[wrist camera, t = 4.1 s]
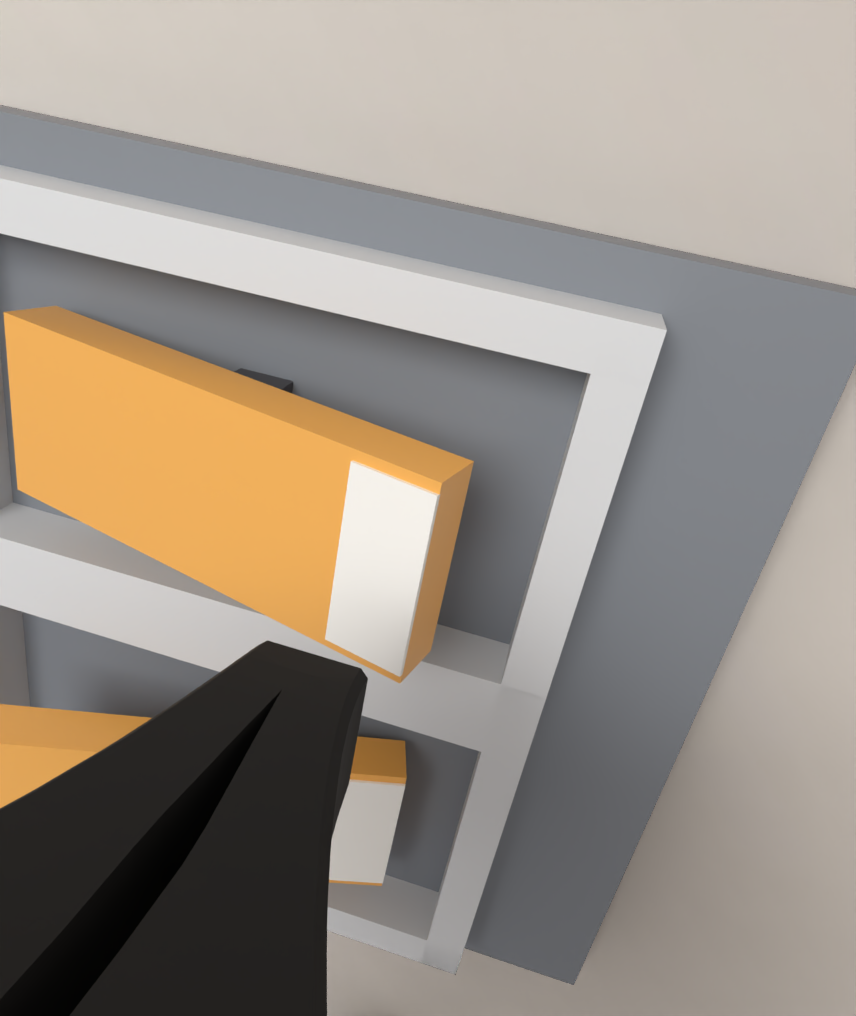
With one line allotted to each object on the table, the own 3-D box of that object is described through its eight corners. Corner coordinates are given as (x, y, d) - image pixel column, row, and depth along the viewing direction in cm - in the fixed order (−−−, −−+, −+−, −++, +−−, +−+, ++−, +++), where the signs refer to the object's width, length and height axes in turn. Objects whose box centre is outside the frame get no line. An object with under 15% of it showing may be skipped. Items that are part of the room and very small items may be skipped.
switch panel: (-49, 730, 26) (-125, 796, 23) (-148, 73, 17) (-292, 55, 14) (575, 937, 23) (570, 1038, 20) (857, 289, 14) (914, 317, 11)
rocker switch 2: (0, 819, 19) (-23, 862, 18) (-13, 702, 18) (-40, 742, 16) (381, 846, 21) (381, 888, 20) (405, 740, 19) (407, 780, 18)
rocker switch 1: (63, 473, 18) (14, 490, 17) (56, 305, 16) (-1, 312, 15) (430, 650, 14) (398, 686, 13) (473, 461, 12) (439, 484, 11)
